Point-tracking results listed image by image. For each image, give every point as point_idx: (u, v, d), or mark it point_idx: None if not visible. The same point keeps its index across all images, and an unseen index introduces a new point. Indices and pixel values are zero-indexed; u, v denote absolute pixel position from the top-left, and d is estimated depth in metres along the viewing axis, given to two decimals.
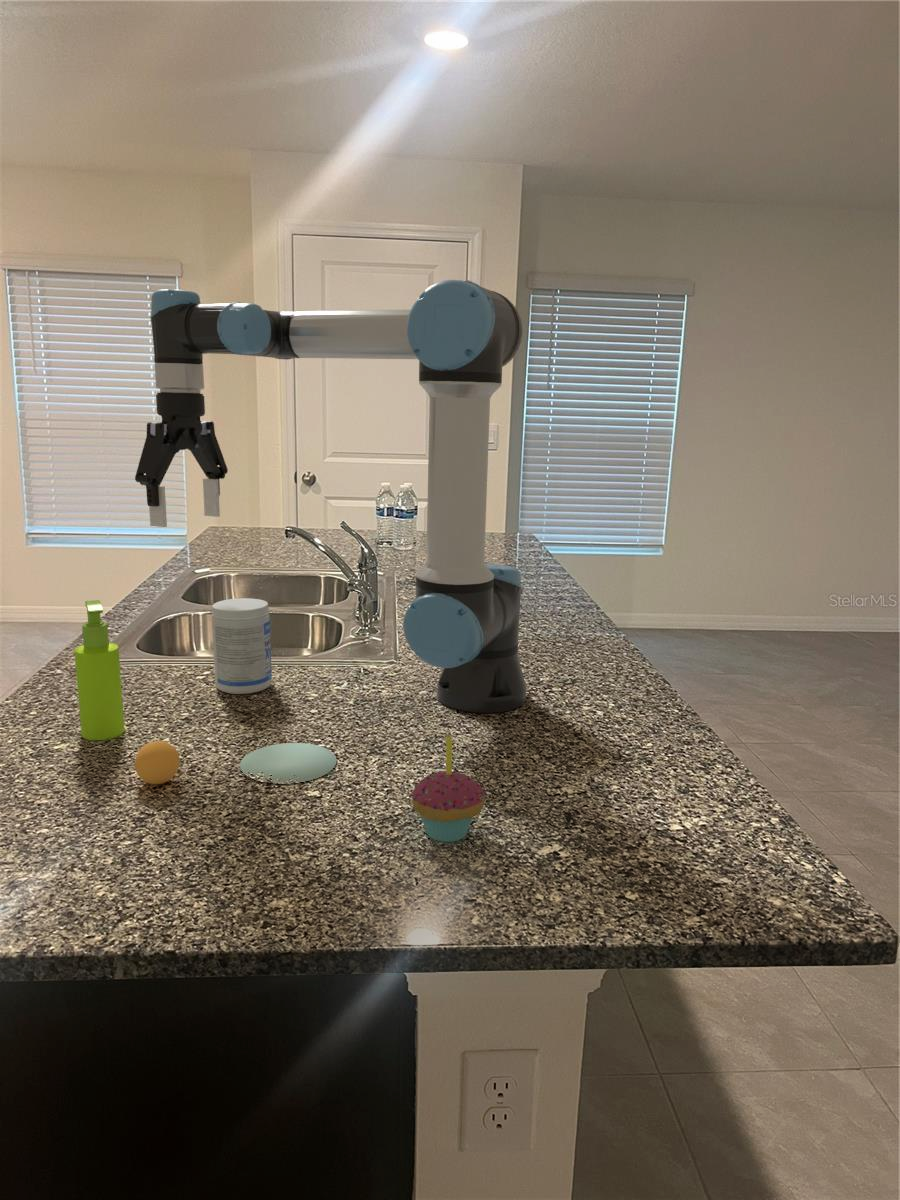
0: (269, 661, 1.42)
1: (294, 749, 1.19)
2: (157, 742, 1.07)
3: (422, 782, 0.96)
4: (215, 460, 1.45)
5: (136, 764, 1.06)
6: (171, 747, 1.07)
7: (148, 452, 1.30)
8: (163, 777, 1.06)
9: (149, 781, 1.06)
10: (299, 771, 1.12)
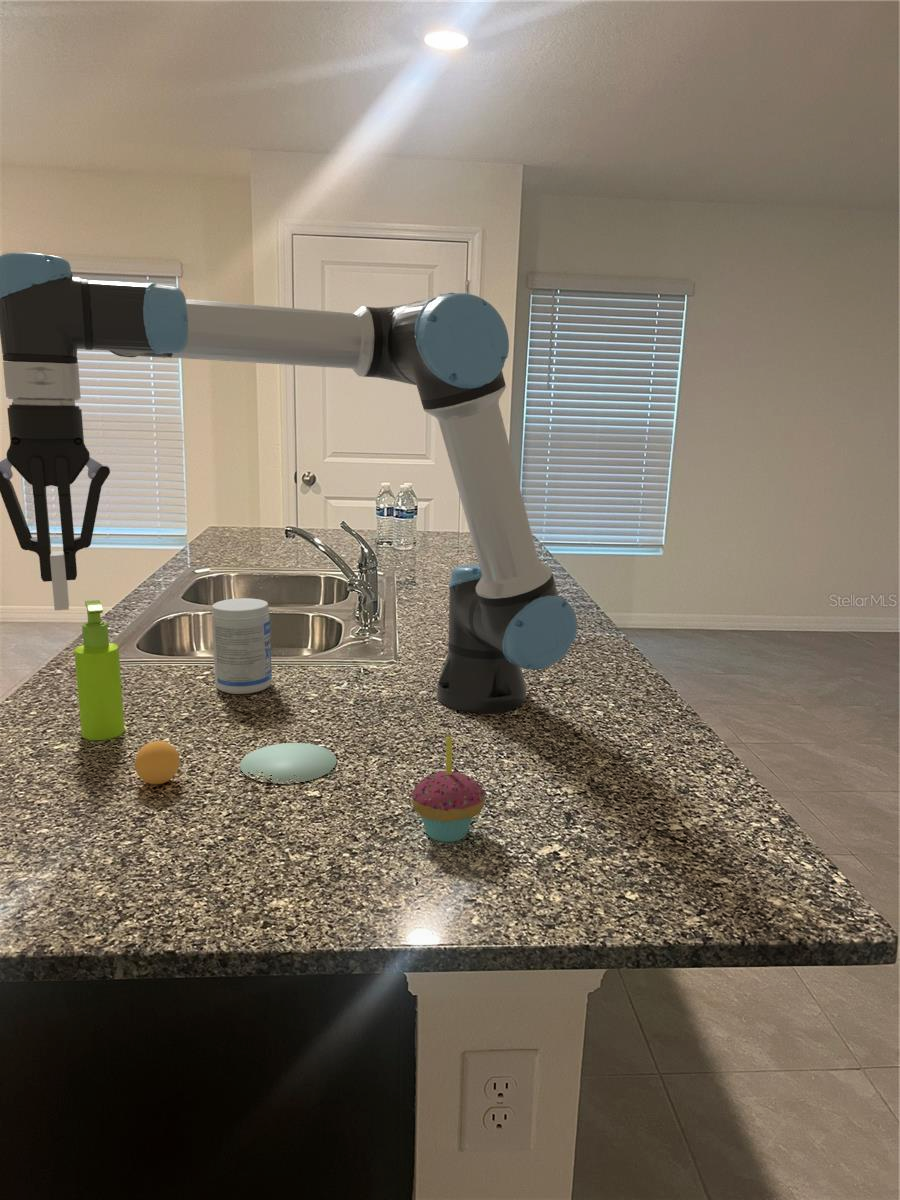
0: (269, 661, 1.42)
1: (294, 749, 1.19)
2: (157, 742, 1.07)
3: (422, 782, 0.96)
4: (25, 522, 0.96)
5: (136, 764, 1.06)
6: (171, 747, 1.07)
7: None
8: (163, 777, 1.06)
9: (149, 781, 1.06)
10: (299, 771, 1.12)
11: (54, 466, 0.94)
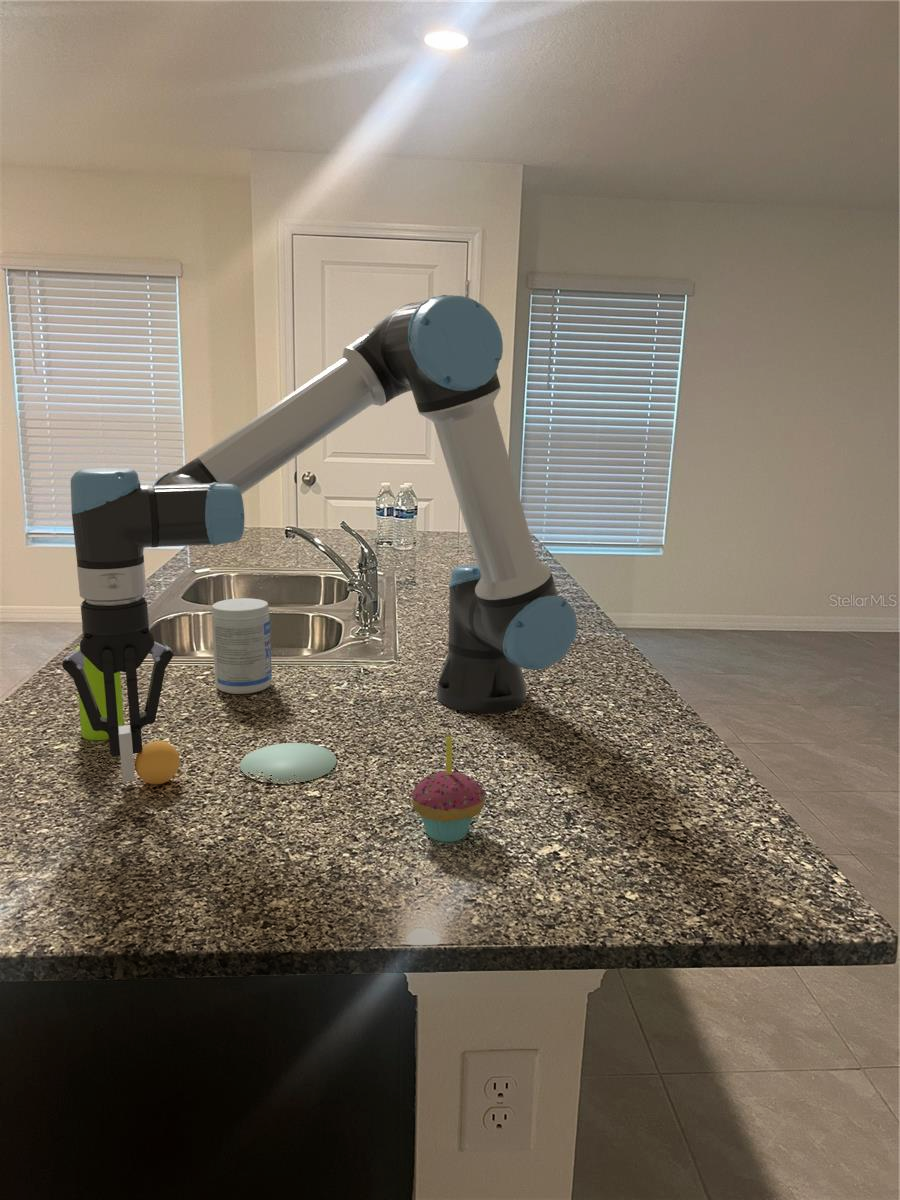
0: (269, 661, 1.42)
1: (294, 749, 1.19)
2: (157, 742, 1.07)
3: (422, 782, 0.96)
4: (95, 703, 1.03)
5: (136, 764, 1.06)
6: (171, 747, 1.07)
7: None
8: (163, 777, 1.06)
9: (149, 781, 1.06)
10: (299, 771, 1.12)
11: (123, 654, 1.02)
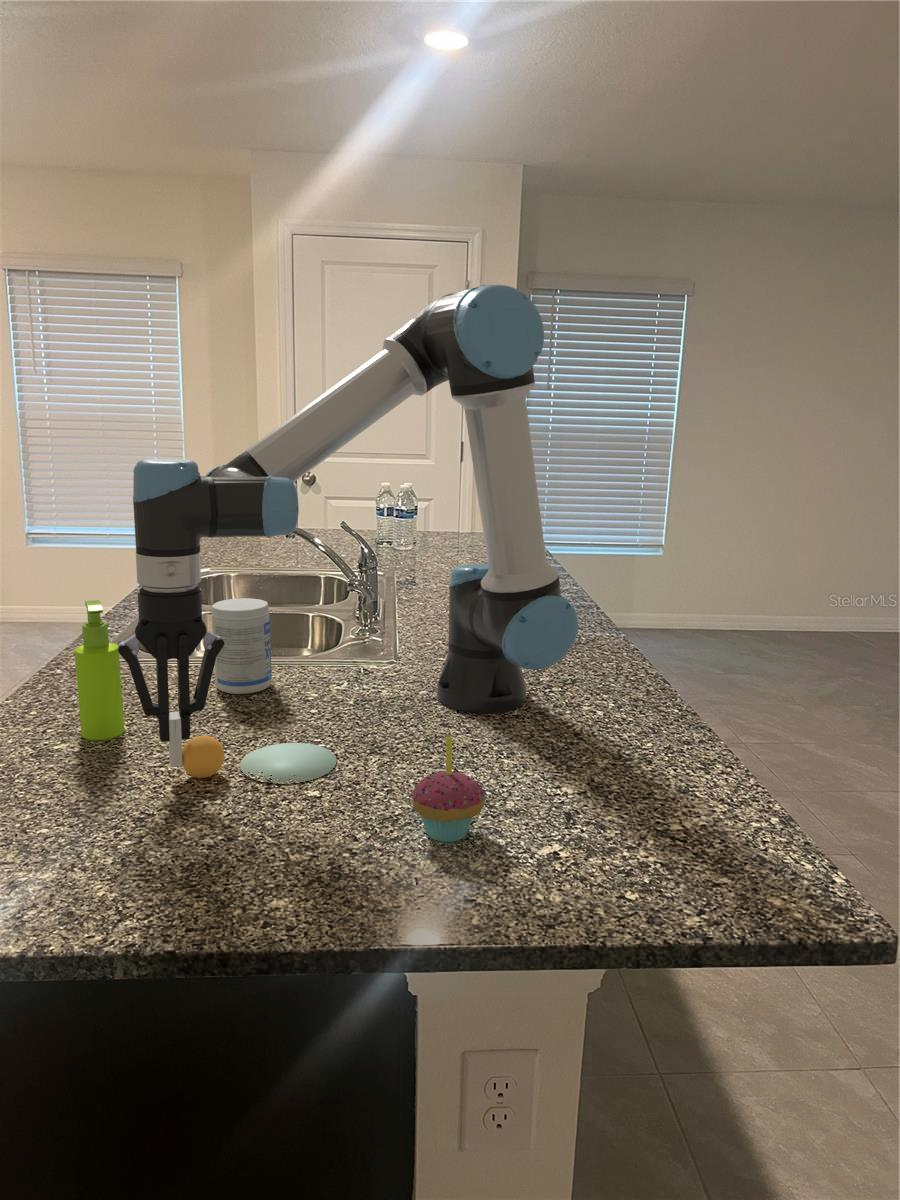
0: (269, 661, 1.42)
1: (294, 749, 1.19)
2: (218, 741, 1.10)
3: (422, 782, 0.96)
4: (147, 689, 1.05)
5: (191, 744, 1.08)
6: None
7: None
8: (202, 772, 1.08)
9: (188, 766, 1.07)
10: (299, 771, 1.12)
11: (176, 641, 1.04)
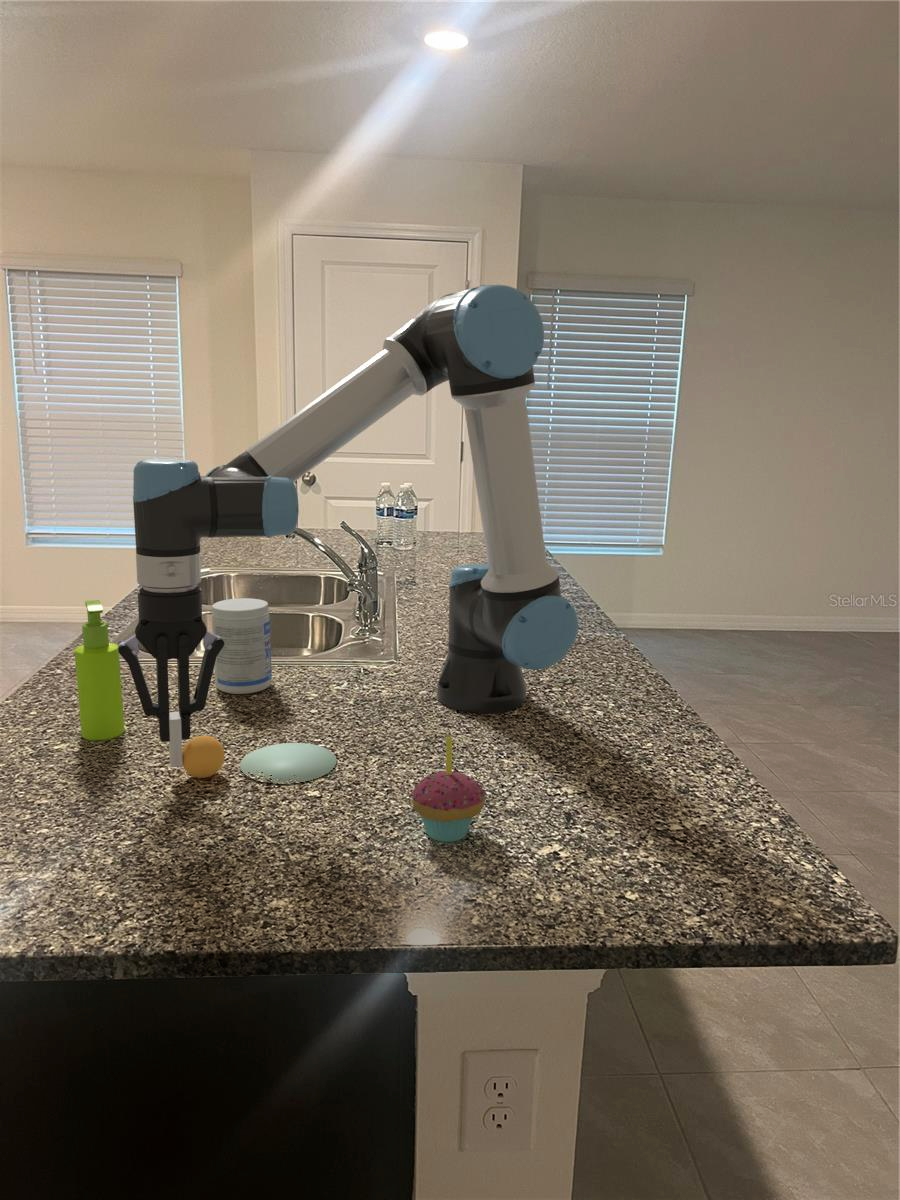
0: (269, 661, 1.42)
1: (294, 749, 1.19)
2: (218, 741, 1.10)
3: (422, 782, 0.96)
4: None
5: (192, 744, 1.08)
6: (224, 754, 1.10)
7: None
8: (202, 772, 1.08)
9: (189, 766, 1.07)
10: (299, 771, 1.12)
11: (176, 641, 1.04)
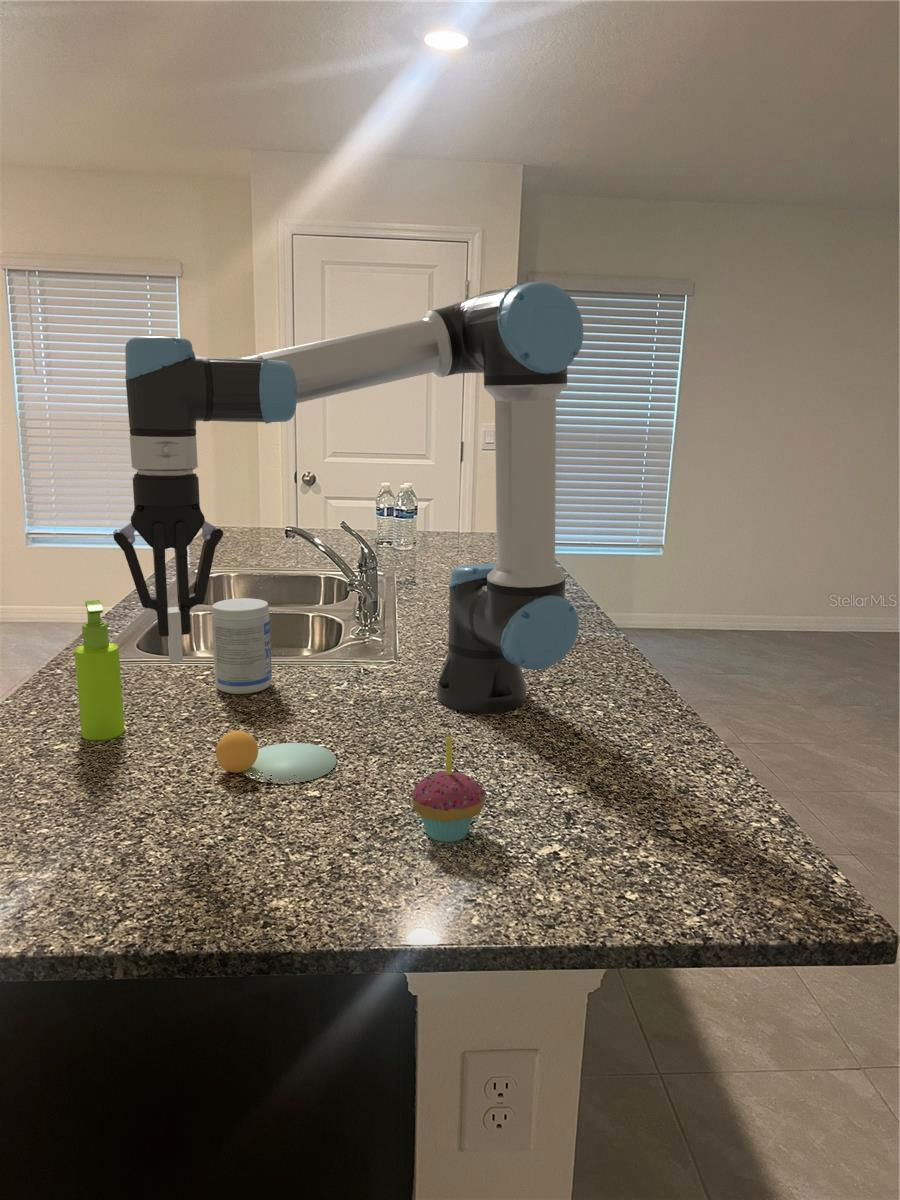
0: (269, 661, 1.42)
1: (294, 749, 1.19)
2: None
3: (422, 782, 0.96)
4: None
5: (254, 742, 1.11)
6: None
7: None
8: (232, 757, 1.09)
9: (237, 743, 1.09)
10: (299, 771, 1.12)
11: (173, 530, 1.01)
